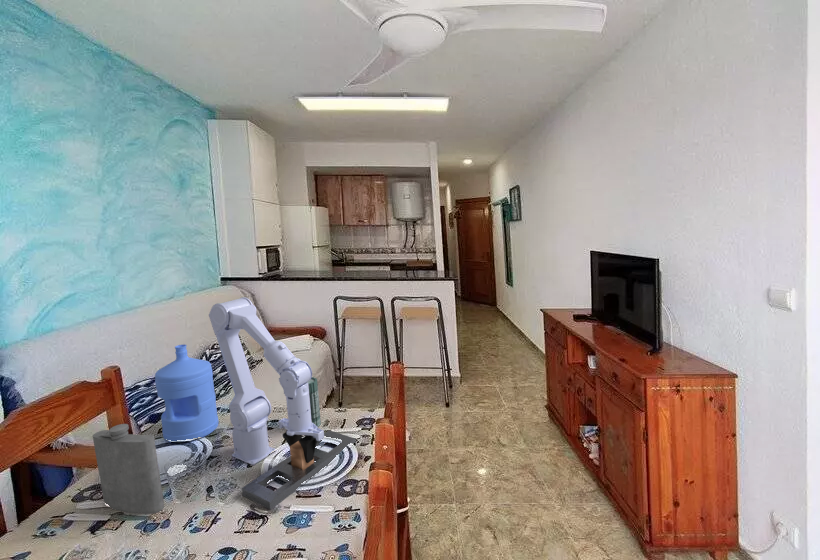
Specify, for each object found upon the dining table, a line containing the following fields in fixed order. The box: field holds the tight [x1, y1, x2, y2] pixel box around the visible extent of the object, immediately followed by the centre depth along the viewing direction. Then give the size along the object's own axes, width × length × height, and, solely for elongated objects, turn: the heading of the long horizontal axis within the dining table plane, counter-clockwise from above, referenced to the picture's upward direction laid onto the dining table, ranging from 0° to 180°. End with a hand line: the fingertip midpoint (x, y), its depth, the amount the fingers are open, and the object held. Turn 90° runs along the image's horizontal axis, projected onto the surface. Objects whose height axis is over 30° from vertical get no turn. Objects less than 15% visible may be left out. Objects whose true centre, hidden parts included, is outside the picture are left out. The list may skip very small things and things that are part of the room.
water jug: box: [154, 344, 220, 441], centre depth 127 cm, size 16×16×28 cm
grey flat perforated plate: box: [241, 429, 356, 511], centre depth 107 cm, size 10×30×2 cm, turn 148°
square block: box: [289, 441, 314, 470], centre depth 106 cm, size 4×4×6 cm
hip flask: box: [92, 423, 165, 515], centre depth 94 cm, size 16×4×20 cm, turn 76°
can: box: [307, 376, 322, 428], centre depth 128 cm, size 6×6×15 cm
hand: (303, 458), depth 107 cm, fingers closed on square block, 4 cm apart
